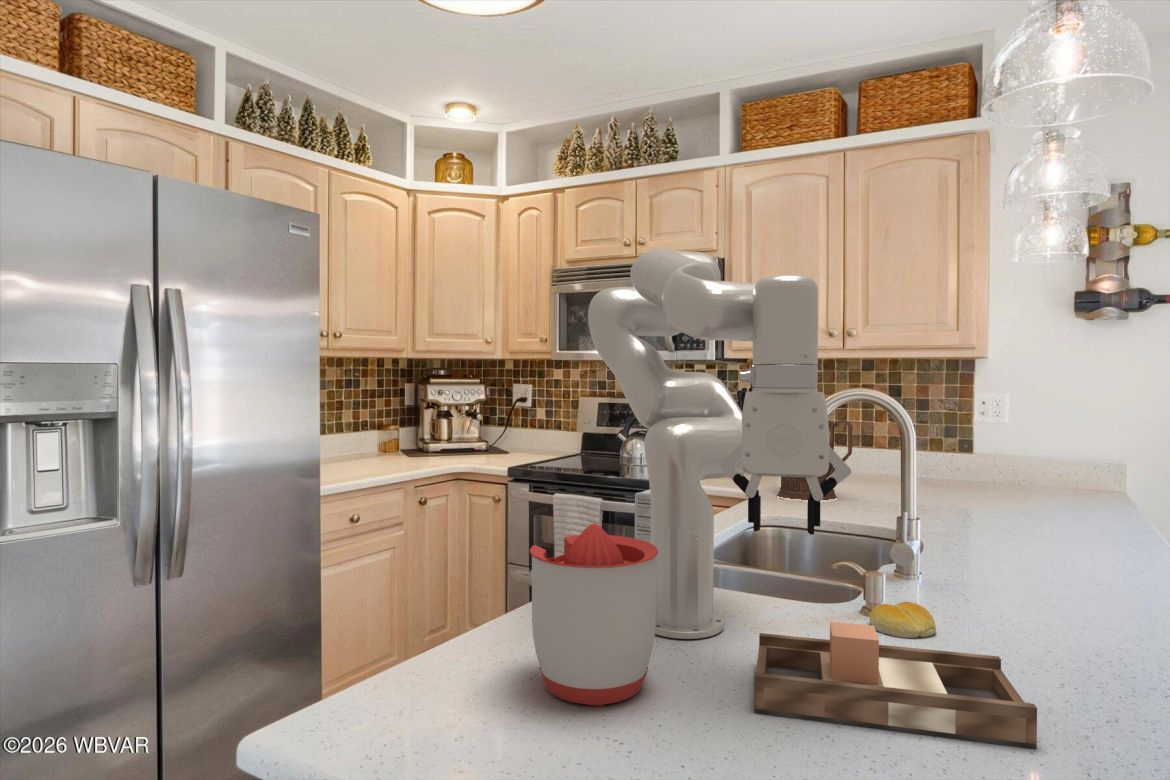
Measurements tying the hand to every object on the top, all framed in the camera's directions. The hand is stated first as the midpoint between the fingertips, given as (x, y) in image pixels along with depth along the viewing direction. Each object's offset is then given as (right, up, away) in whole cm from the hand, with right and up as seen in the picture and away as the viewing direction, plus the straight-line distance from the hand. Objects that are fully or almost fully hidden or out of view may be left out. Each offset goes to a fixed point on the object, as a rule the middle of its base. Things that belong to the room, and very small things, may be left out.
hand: (783, 529), depth 86 cm
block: (+8, -17, -2) cm, 18 cm away
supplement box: (-9, -19, +46) cm, 50 cm away
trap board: (+11, -20, -3) cm, 22 cm away
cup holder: (+48, -17, +136) cm, 146 cm away
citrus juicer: (-23, -20, +2) cm, 31 cm away
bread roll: (+24, -20, +22) cm, 38 cm away
